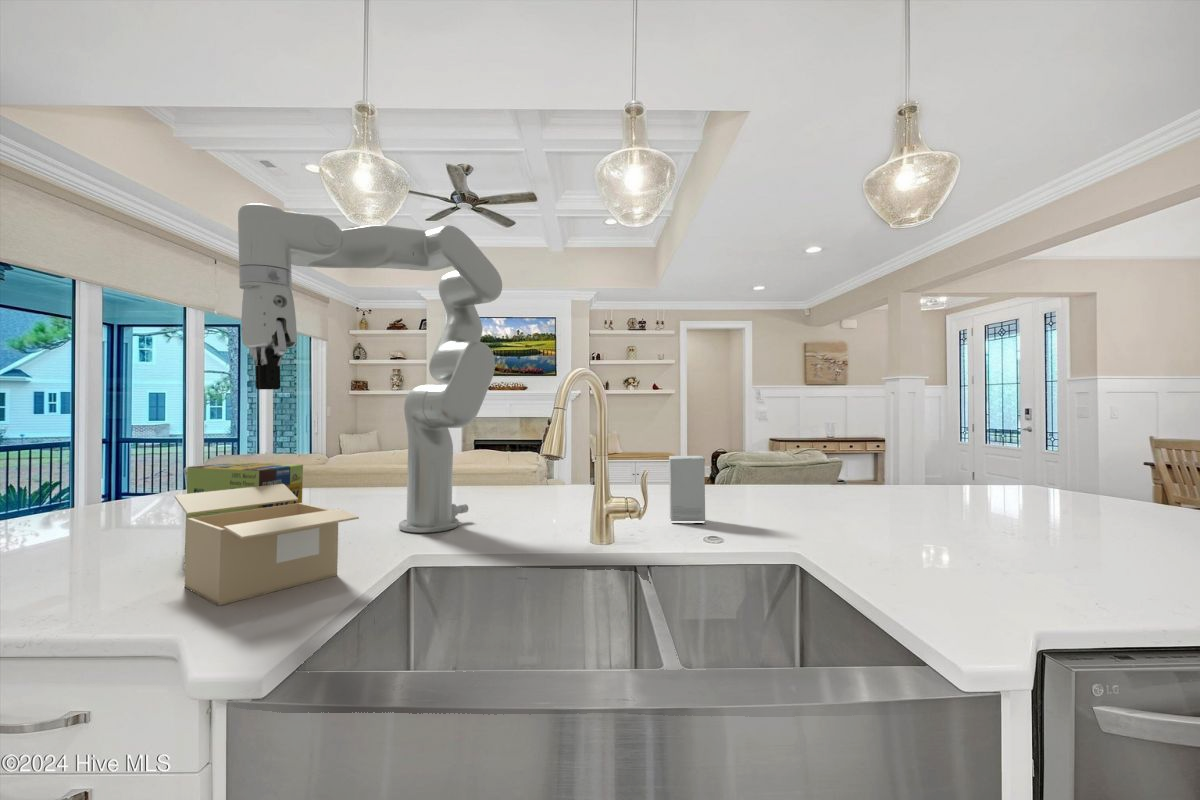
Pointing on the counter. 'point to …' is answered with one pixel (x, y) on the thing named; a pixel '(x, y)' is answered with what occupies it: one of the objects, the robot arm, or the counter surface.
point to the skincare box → (687, 488)
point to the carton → (256, 554)
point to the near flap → (289, 523)
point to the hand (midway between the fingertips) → (268, 389)
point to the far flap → (234, 498)
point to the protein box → (244, 480)
